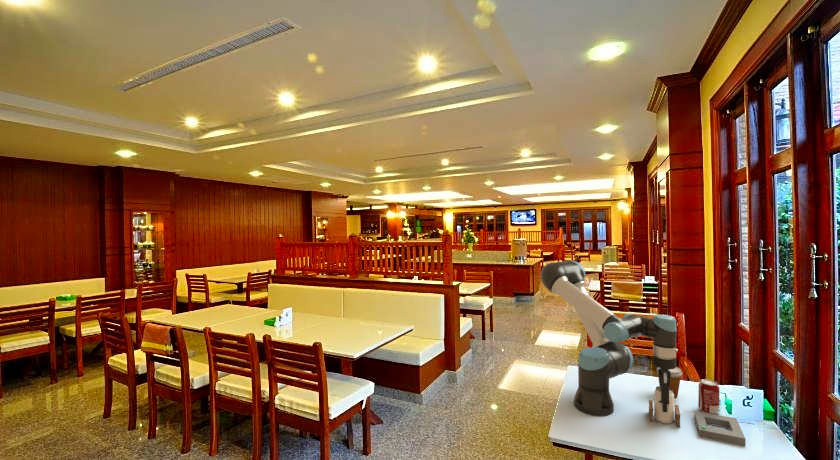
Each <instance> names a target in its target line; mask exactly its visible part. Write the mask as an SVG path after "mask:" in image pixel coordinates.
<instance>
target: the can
mask: <svg viewBox="0 0 840 460" xmlns="http://www.w3.org/2000/svg"><path fill="white" fill-rule="evenodd" d="M653 397H654V400H653V401H654V402H653V404H654V405H653V418H654V419H655V420H656V421H657V422H659V423H660V424H661V423H662V424H666V425H667V424H668V425H670V424H672V423H674V422H675V399H674V394H673V390H672V389H670V388H669V420H664V419H660V402H659V401H661V386H658V385H657V386H656V387H655V390H654V396H653Z"/></svg>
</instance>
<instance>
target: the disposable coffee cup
mask: <svg viewBox="0 0 840 460" xmlns="http://www.w3.org/2000/svg"><path fill="white" fill-rule="evenodd" d="M658 369H660V368H658V367H656V372H657V377H658V379H659V374H658ZM669 371H670V373H671V377H670V385H669V388H670V389H672V390H673V394H674V400H675V399H677V398H678V395H679V389H680V382H681V377H682V376H683V372H682V370H681V368H679V367H678V366H676V368H675V369H670V370H669ZM658 384H659V386H660V382H659V381H658Z"/></svg>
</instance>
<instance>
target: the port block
mask: <svg viewBox="0 0 840 460" xmlns="http://www.w3.org/2000/svg"><path fill="white" fill-rule="evenodd" d="M693 412H694V414H693V417H694V421H695V425H696V429H697V432H698V436H699V437H700V438H705V439H711V440H716V441H721V442H726V443H730V444H735V445H739V444H740V446H744V447H745V446H746V437H745V434H744V433H743V430H742V427H741V426H740V424H739V421H738V419H737V418H736V417H732V416H731V417H730V416H726V415H720V414H710V413H705V412H702V411H700V410H699V411H698V410H694V411H693ZM708 425H711V426H708ZM712 426H718V427H712ZM719 427H723V428H727V429H722V428H719Z"/></svg>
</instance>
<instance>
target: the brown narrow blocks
mask: <svg viewBox="0 0 840 460" xmlns="http://www.w3.org/2000/svg"><path fill="white" fill-rule="evenodd" d="M653 401H654V400H651V399H649V400H648V419H649V422H650V423H654V405H653V404H654V402H653ZM680 412H681V411H680V406H679V405H678V404H674V422H675V428H679V429H680V428H681V413H680Z"/></svg>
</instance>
